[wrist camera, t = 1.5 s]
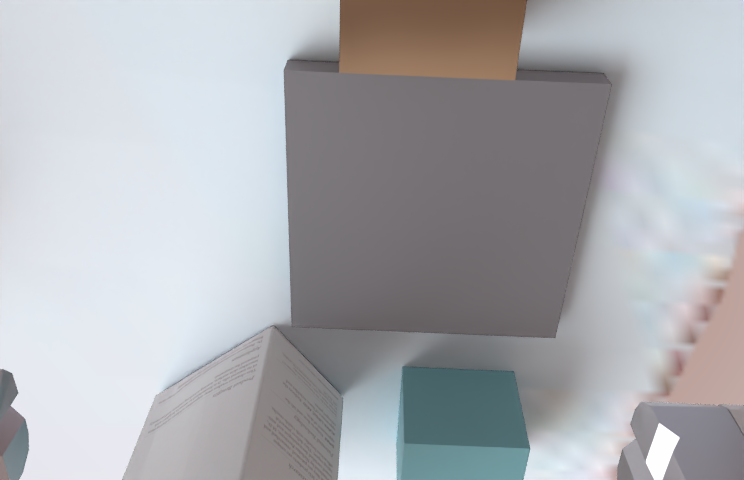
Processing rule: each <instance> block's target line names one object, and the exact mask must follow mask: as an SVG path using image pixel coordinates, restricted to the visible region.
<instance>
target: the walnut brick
mask: <svg viewBox="0 0 744 480" xmlns="http://www.w3.org/2000/svg"><path fill="white" fill-rule="evenodd" d="M526 3H527V0H340V53H339V73H357V74H379V75H402V76H425V77H448V78H471V79H494V80H515V77H516V71H517V64H518V57H519V50H520V44H521V37H522V30H523V23H524V17H525V10H526Z"/></svg>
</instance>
